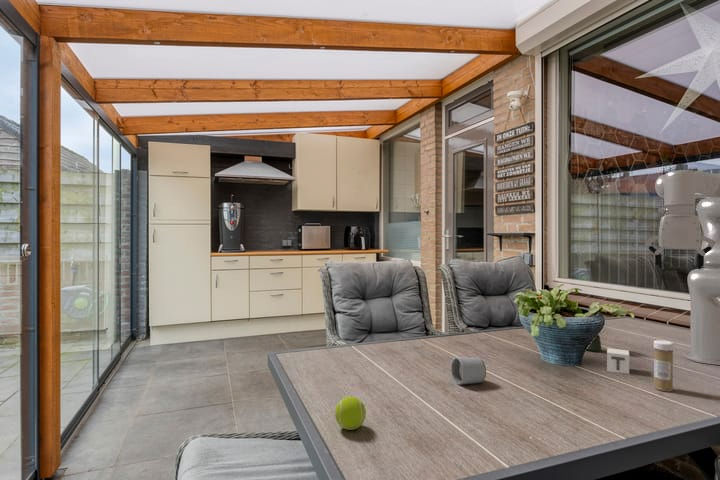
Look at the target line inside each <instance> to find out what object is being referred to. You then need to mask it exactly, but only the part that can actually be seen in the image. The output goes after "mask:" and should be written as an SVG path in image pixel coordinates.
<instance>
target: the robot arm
mask: <svg viewBox="0 0 720 480" xmlns="http://www.w3.org/2000/svg"><path fill="white" fill-rule="evenodd" d="M654 189H655V192H656V194H657V195H658V197H660V198H663V207H661V208H660V207H659V208H658V209H657V211H658V212H657V213H658V214H659V213H661V214H663V216H661V217H660V219H659V220H660V221H659V227H658V234H657V235H655V236H652V237H650V238H647V239H646V240H644V244H645V246H646V247H647V248H648V250H649V251H650V252H652V253H653V254H654V261H655V262H654V264H655V266H657V268H658V269H661V268H662V255H661V253H662V252H663V251H664V250H694V251H695V252H696V254H697V255H696V268H695V269H692V270H690V272H689V273H688V275H687V286H688V293H689V301H690V316H689V317H690V318H689V319H690V320H689V321H690V325H689V326H690V327H689V329H690V331H689V332H690V335H689V337H690V338H689V339H690V343H689V345H690V346H689V347H690V348H689V349H690V350H689V351H687V352H685V353H684V357H685V358H686V360H687V359H688V360H689V361H692V362H697V363H699V364H700V363H701V364H708V365H716V366H720V300H719V298H720V173H712V172H706V171H704V170H703V171H702V170H695V171H693V170H690V169H679V170H671V171H668V172H666V173H665V174H662V175H660V176H658V177H657V178H656V181H655V184H654ZM696 199H701V200H699V202H698V203H697V206H696ZM696 207H697V209H696ZM696 211H697V215H696ZM701 228H702V230H701ZM702 232H703V235H702ZM655 241H658V247H657V248H655V247H654V246H653V244H652V243H653V242H655Z"/></svg>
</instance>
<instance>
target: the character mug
mask: <svg viewBox="0 0 720 480" xmlns="http://www.w3.org/2000/svg"><path fill="white" fill-rule="evenodd" d="M603 330H604V329H602V330H601V332H600V333H599V334H598V335H597V336H596V337H595V339H594V340H593V341H592V343H591V344H590V346H589V347H588V349H587V350H588V351H589V350H590V351H598V352H599V351H601V350H602V341H601V336H600V335H601V334H603Z"/></svg>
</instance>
